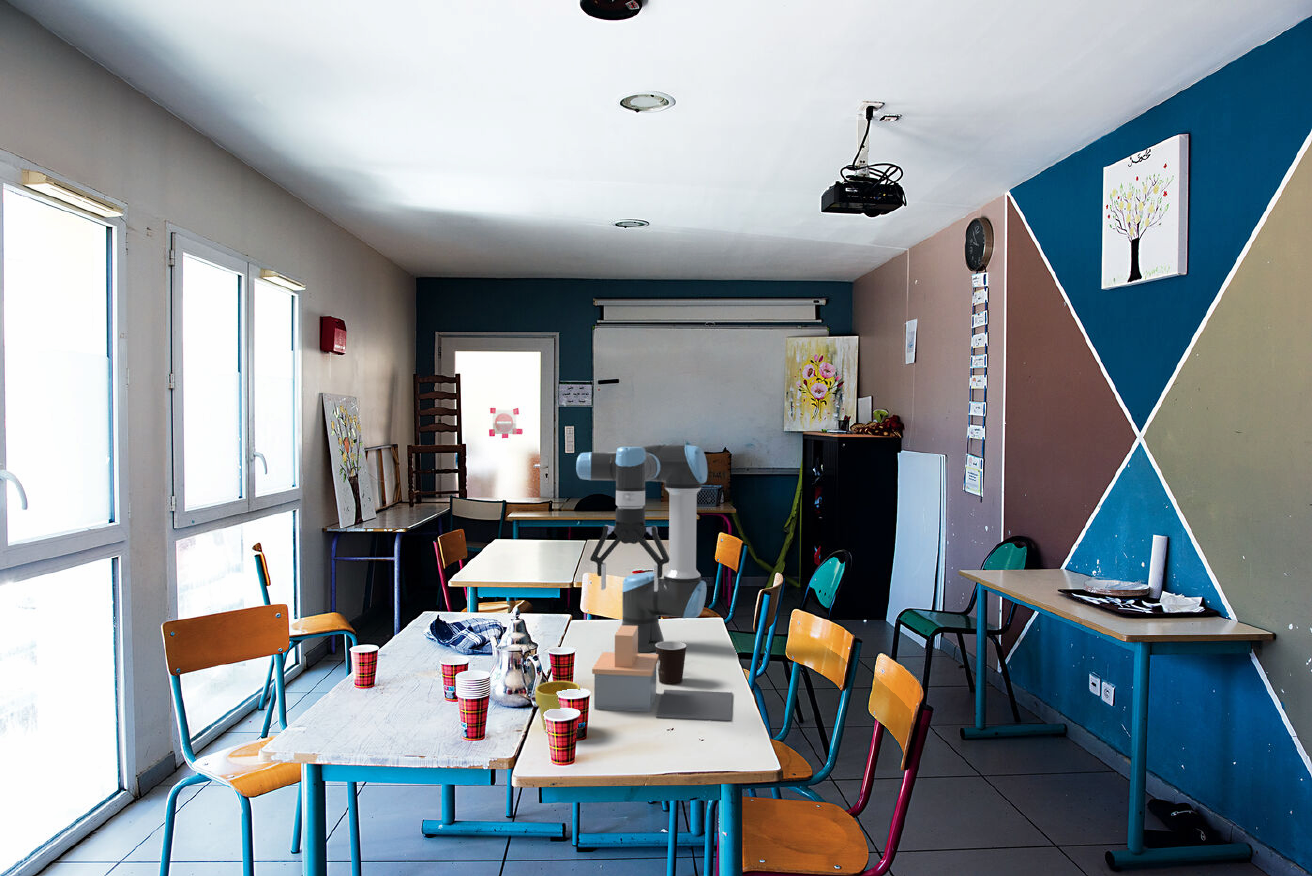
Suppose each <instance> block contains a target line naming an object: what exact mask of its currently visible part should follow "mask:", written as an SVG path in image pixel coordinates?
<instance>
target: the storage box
mask: <svg viewBox="0 0 1312 876" xmlns="http://www.w3.org/2000/svg"><path fill="white" fill-rule="evenodd" d="M593 680H594V685H593V686H594V687H593V688H594V689H593V692H594V697H593V698H594V701H593V702H594V703H593V704H594V708H593V709H594V710H602V711H604V710H605V711H606V710H607V711H623V710H626V712H646V713H647V712H649V713H650V712H651V710H652V708H653V704H654V701H655V698H656V696H657V666H656V667H655V670H654V672H653V675H652V676H632V675H609V674H594V679H593Z"/></svg>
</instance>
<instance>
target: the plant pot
mask: <svg viewBox="0 0 1312 876" xmlns="http://www.w3.org/2000/svg"><path fill="white" fill-rule="evenodd" d="M567 689H578V690H580V691H581V686H580V685H579V684H578V683H576V682H573V681H569V680H552V681H547V682H542V683H540V684H538V685H537V686H536V687H535V703H536V705H537V706H538V707H539V712H540V717H541V722H542V726H543V730H546V724H545V720H544V716H543V714H544V712H545V711H547V710H549V709H560V708H561V706H560V704H559V701H558V695H557V694H556V692H557V691H562V690H567Z"/></svg>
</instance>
